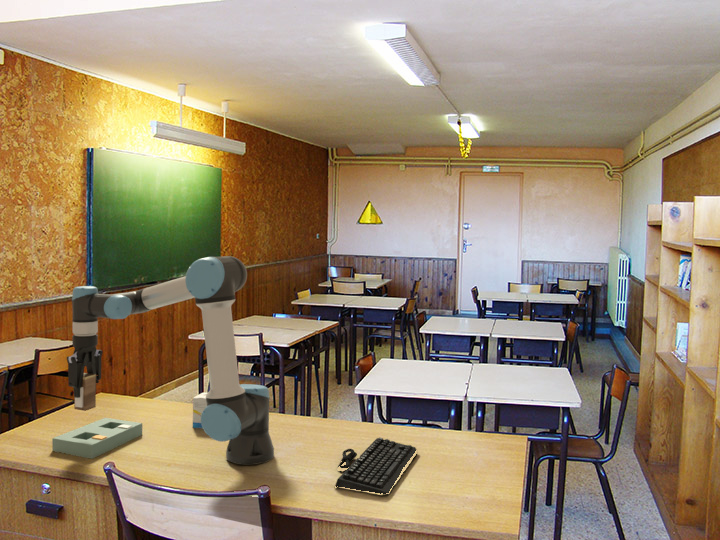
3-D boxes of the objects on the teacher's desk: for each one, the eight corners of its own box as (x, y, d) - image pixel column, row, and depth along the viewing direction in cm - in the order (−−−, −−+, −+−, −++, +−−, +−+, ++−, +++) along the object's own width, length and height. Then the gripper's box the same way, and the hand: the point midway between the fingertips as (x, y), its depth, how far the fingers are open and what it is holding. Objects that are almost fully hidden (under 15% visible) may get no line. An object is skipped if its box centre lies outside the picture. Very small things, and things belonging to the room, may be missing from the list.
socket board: (142, 435, 220) (142, 422, 220) (92, 458, 198) (92, 443, 197) (105, 429, 226) (105, 416, 225) (52, 451, 203) (52, 437, 203)
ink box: (213, 430, 227) (213, 399, 227) (191, 429, 229) (192, 397, 228) (223, 423, 236) (223, 393, 235) (202, 421, 237) (202, 391, 237)
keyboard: (387, 498, 175) (387, 482, 174) (314, 486, 182) (314, 470, 182) (419, 455, 209) (419, 441, 209) (357, 446, 216) (357, 432, 216)
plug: (95, 407, 207) (95, 374, 206) (85, 410, 202) (85, 377, 202) (84, 405, 208) (84, 372, 207) (74, 409, 204) (74, 375, 203)
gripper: (95, 329, 213) (95, 396, 215) (54, 337, 196) (55, 410, 198) (113, 331, 211) (113, 399, 212) (73, 339, 194) (73, 413, 196)
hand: (85, 404), depth 205 cm, fingers closed on plug, 4 cm apart
